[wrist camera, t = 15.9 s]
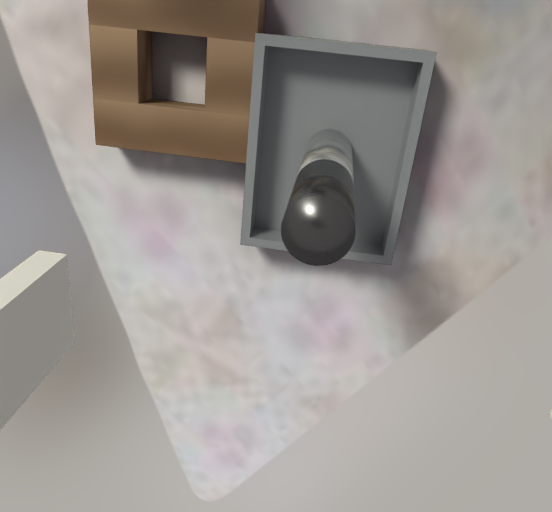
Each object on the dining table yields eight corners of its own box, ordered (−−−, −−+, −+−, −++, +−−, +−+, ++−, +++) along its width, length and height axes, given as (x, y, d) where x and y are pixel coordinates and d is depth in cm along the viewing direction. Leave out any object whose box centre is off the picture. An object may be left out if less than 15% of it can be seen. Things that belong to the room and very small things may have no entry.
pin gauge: (308, 126, 32) (284, 191, 20) (355, 132, 32) (361, 201, 19) (303, 171, 34) (277, 260, 21) (348, 177, 33) (349, 270, 21)
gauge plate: (104, -28, 30) (85, -33, 28) (267, -12, 30) (260, -15, 28) (111, 137, 35) (95, 144, 32) (254, 154, 34) (247, 163, 32)
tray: (262, 32, 31) (255, 33, 28) (429, 50, 30) (436, 52, 28) (246, 230, 36) (240, 244, 34) (387, 249, 36) (390, 265, 33)
